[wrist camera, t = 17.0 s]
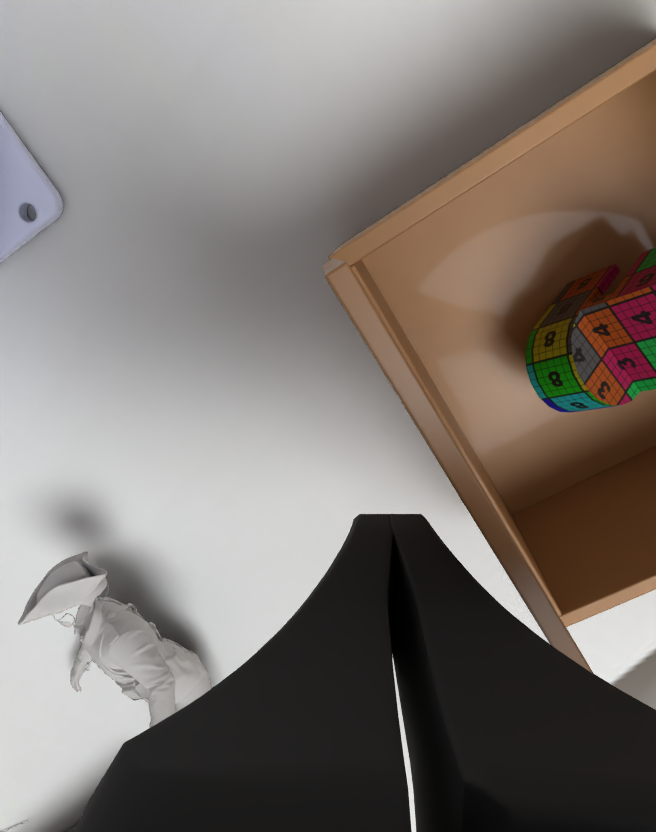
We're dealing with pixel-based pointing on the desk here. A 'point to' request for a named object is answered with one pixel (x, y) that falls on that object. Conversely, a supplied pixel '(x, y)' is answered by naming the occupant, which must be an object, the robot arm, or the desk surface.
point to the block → (597, 340)
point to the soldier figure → (119, 640)
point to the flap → (447, 453)
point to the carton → (515, 319)
